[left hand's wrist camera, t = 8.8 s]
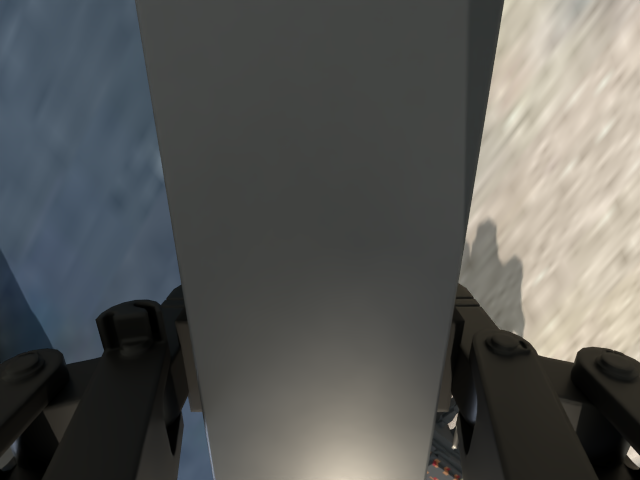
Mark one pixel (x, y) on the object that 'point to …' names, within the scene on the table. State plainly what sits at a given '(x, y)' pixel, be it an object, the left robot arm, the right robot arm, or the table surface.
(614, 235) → the table surface
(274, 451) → the beam
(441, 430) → the toy
